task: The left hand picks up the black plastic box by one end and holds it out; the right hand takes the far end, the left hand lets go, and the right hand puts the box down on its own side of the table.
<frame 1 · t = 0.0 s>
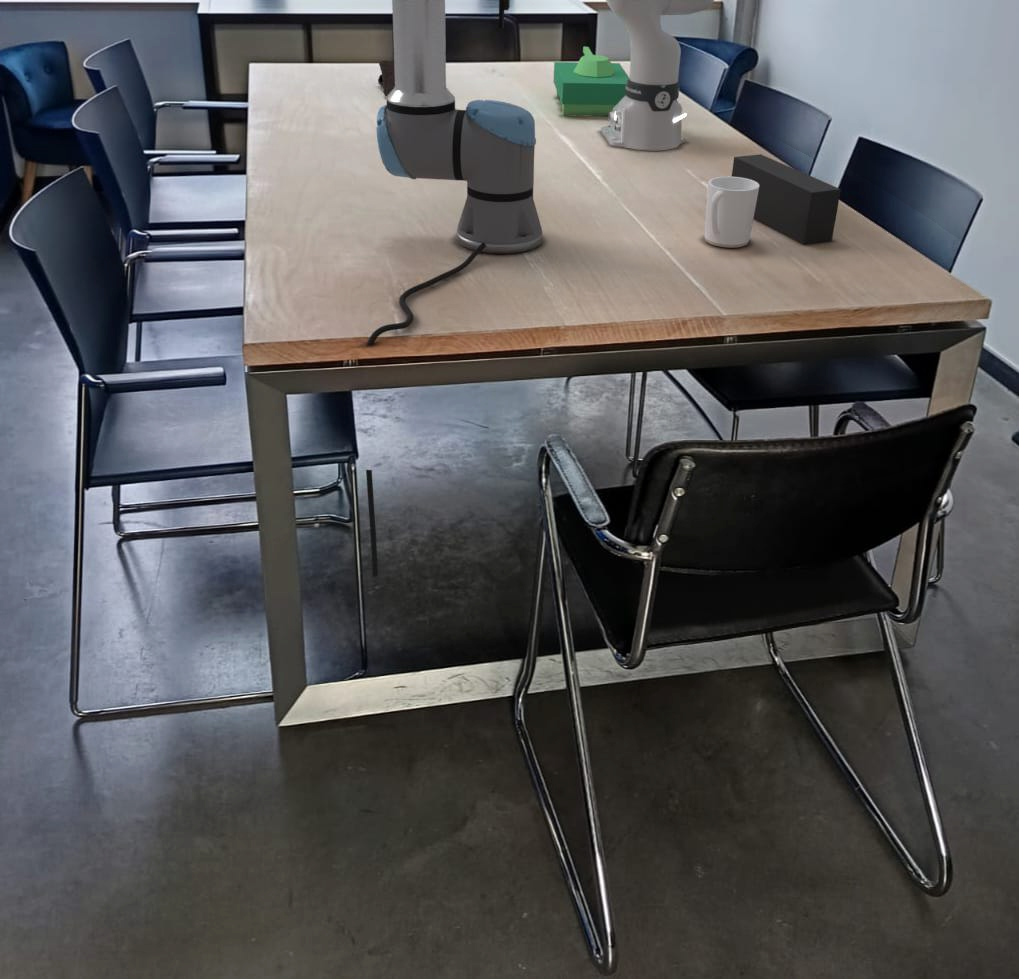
left hand: (468, 26, 224), 28 cm above the table, tool pointing down, fingers open, 13 cm apart
mug: (723, 242, 197), on the table
axe head: (403, 91, 300), on the table
toy tank: (588, 103, 292), on the table
box: (777, 222, 208), on the table
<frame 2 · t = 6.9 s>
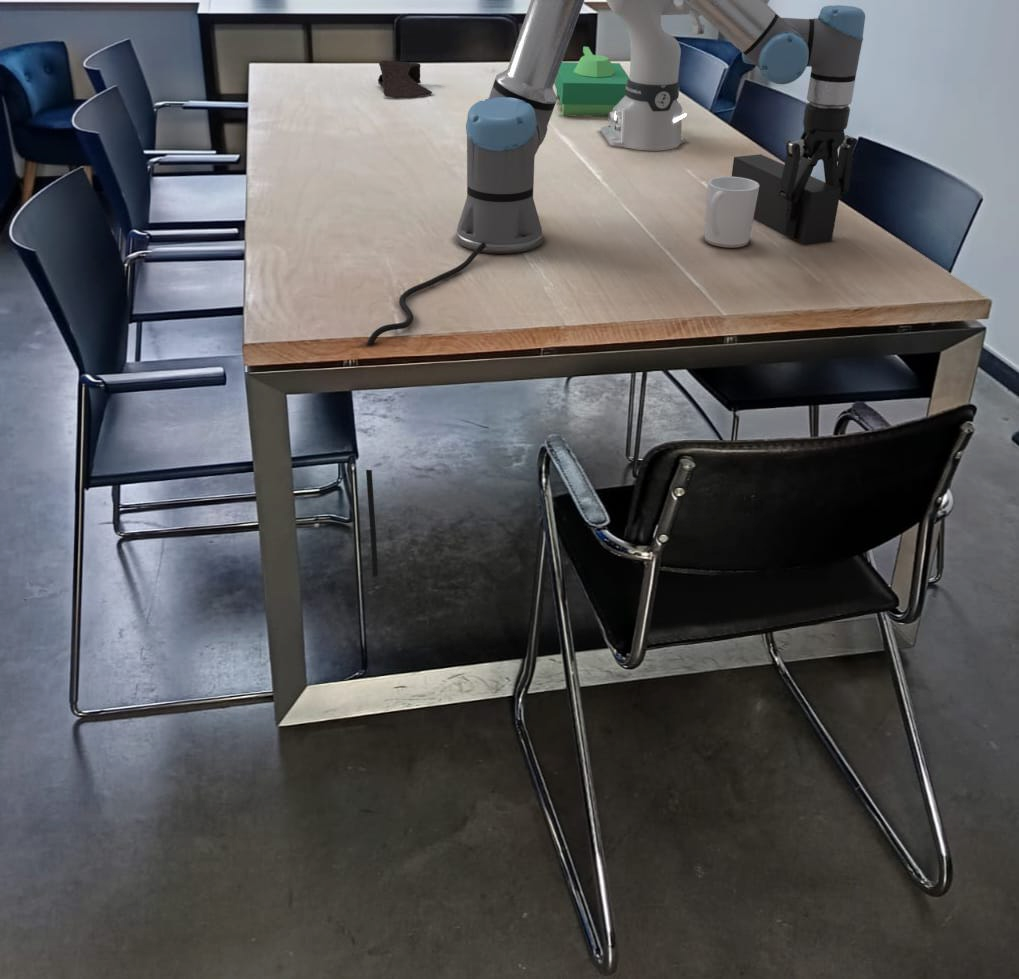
left hand: (806, 234, 201), 1 cm above the table, tool pointing down, fingers closed on box, 6 cm apart
right hand: (718, 32, 218), 29 cm above the table, tool pointing down, fingers open, 8 cm apart
box: (777, 222, 208), on the table, touching left hand
everything else where it was.
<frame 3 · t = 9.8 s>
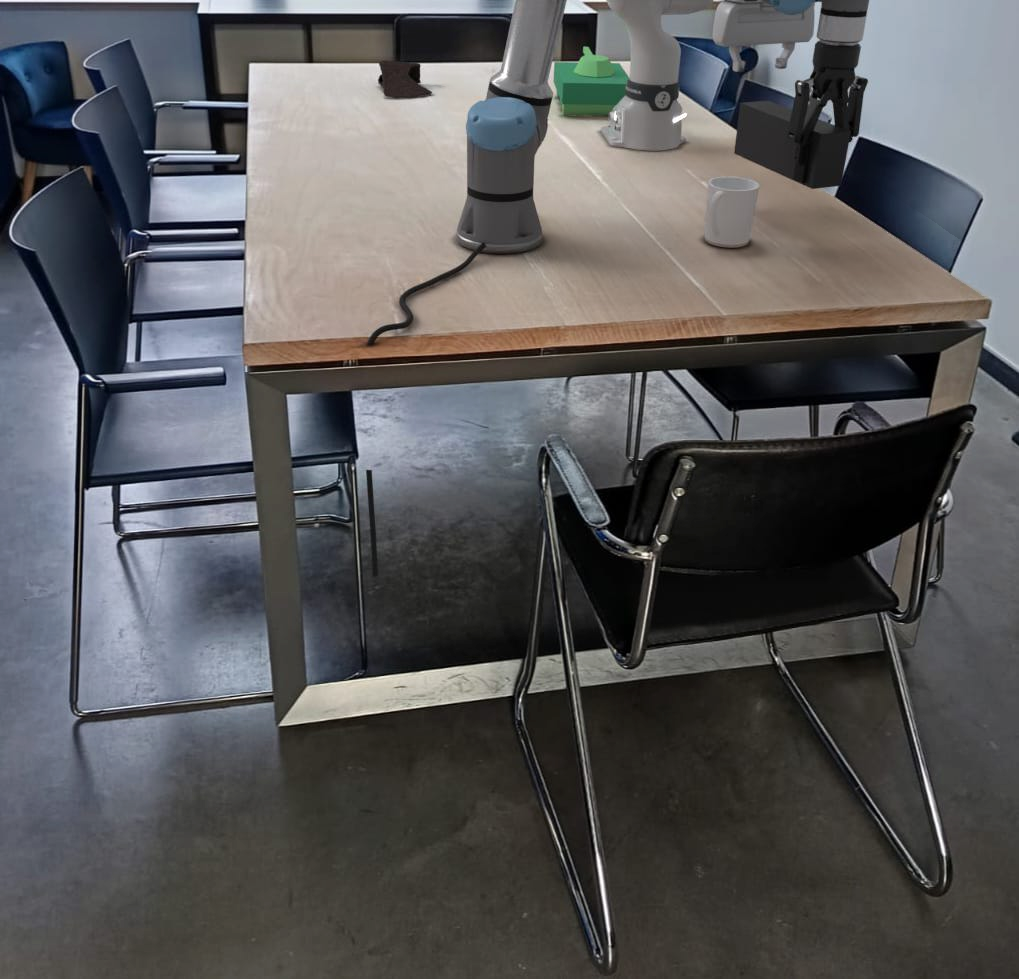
left hand: (815, 179, 195), 11 cm above the table, tool pointing down, fingers closed on box, 6 cm apart
right hand: (759, 69, 205), 25 cm above the table, tool pointing down, fingers open, 8 cm apart
box: (785, 169, 203), point 10 cm above the table, touching left hand
everything else where it was.
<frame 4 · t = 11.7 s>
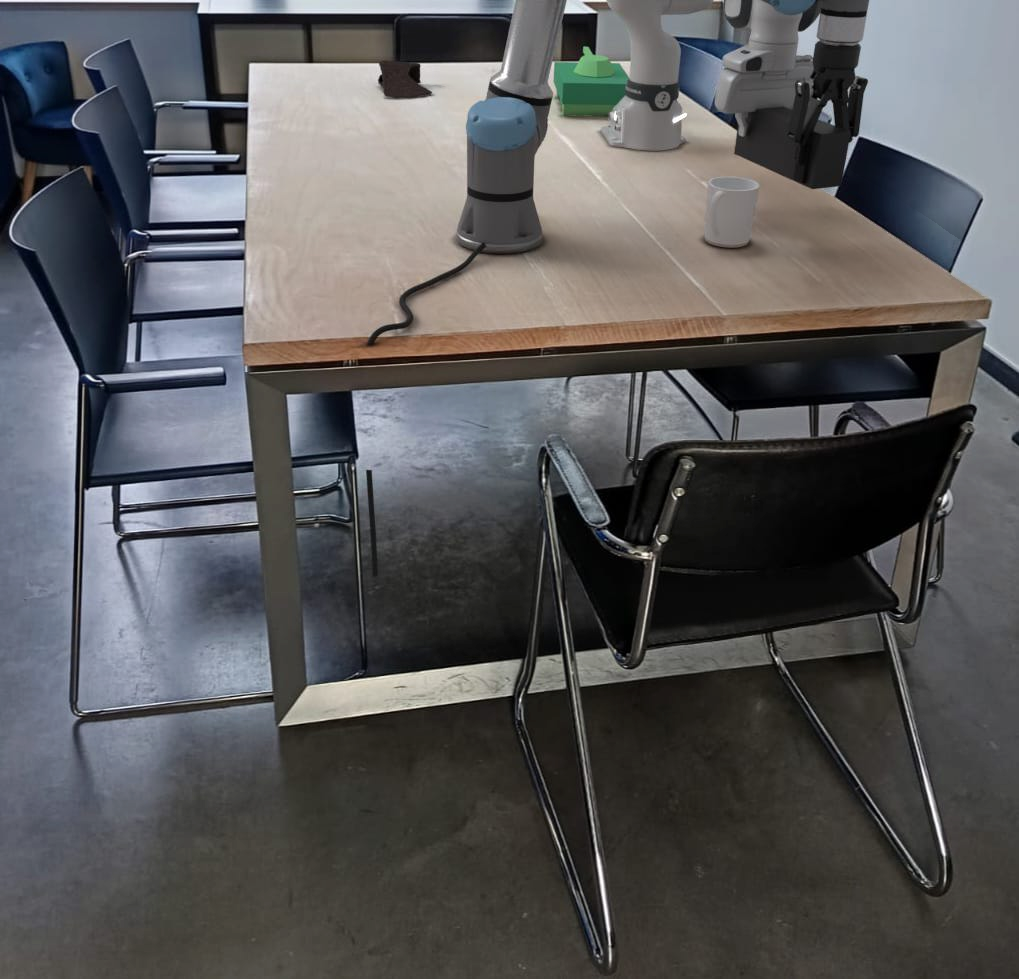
left hand: (815, 179, 195), 11 cm above the table, tool pointing down, fingers closed on box, 6 cm apart
right hand: (760, 134, 208), 14 cm above the table, tool pointing down, fingers closed on box, 6 cm apart
box: (785, 169, 203), point 10 cm above the table, touching left hand, right hand
everything else where it was.
when the left hand's fingers open (11 cm above the table, at t = 12.7 s): box stays where it is, held by the right hand.
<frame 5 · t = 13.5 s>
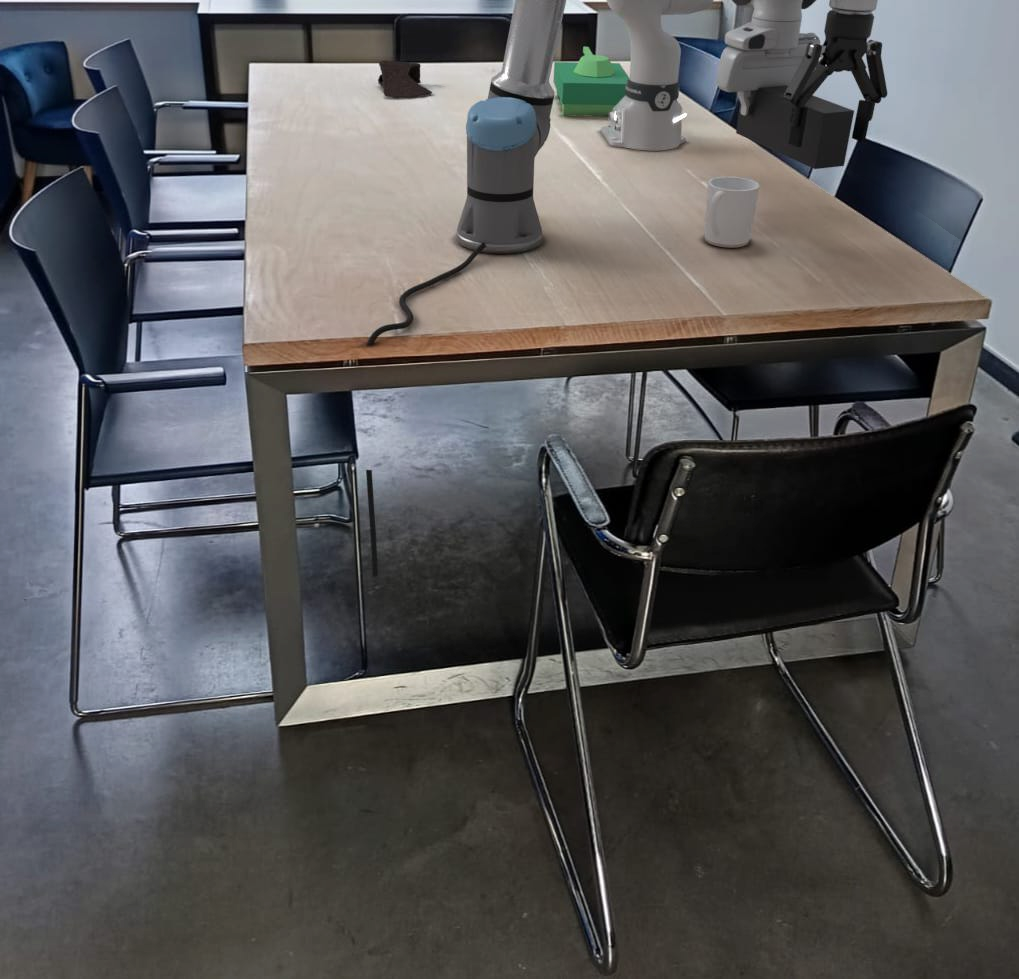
left hand: (826, 142, 190), 17 cm above the table, tool pointing down, fingers open, 13 cm apart
right hand: (762, 113, 206), 18 cm above the table, tool pointing down, fingers closed on box, 6 cm apart
box: (787, 148, 201), point 14 cm above the table, touching right hand
everything else where it was.
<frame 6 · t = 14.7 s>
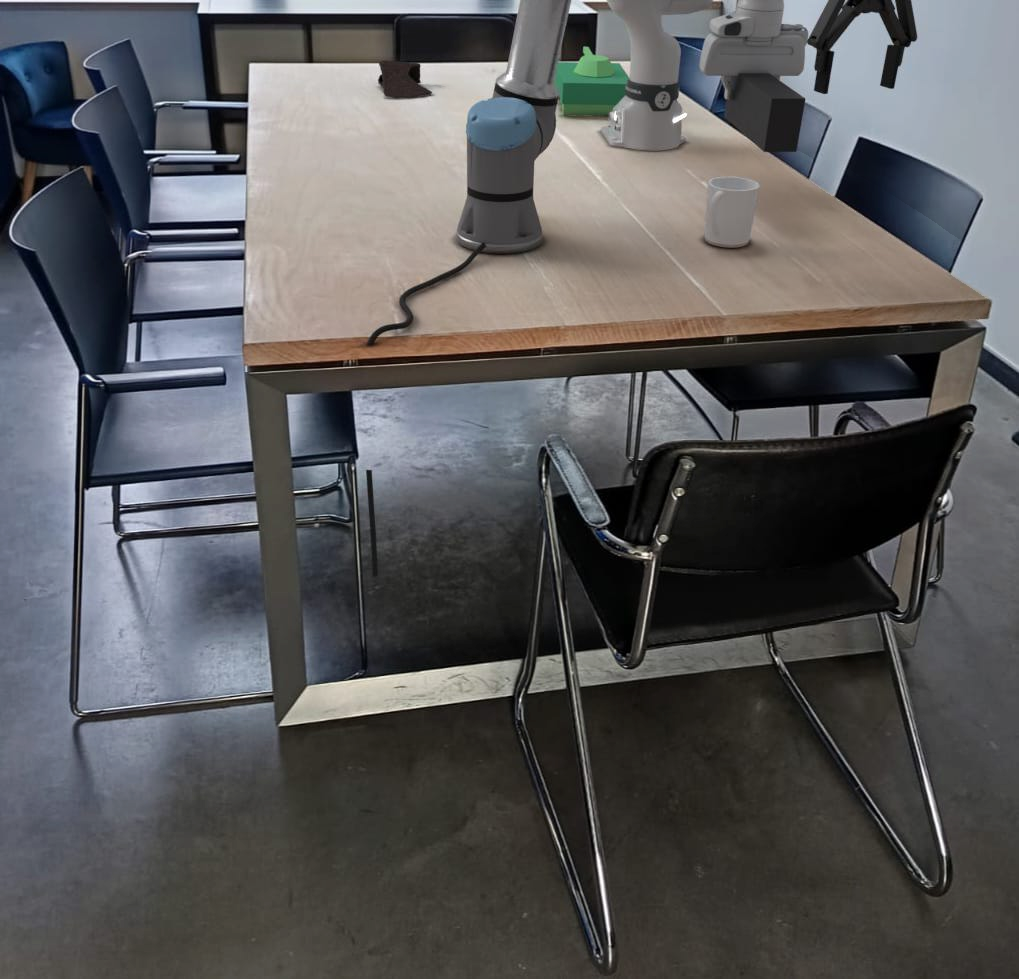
left hand: (854, 89, 182), 27 cm above the table, tool pointing down, fingers open, 13 cm apart
right hand: (747, 98, 216), 18 cm above the table, tool pointing down, fingers closed on box, 6 cm apart
box: (758, 133, 211), point 14 cm above the table, touching right hand
everything else where it was.
when the right hand's fingers open (6 cm above the table, at t = 17.7 s): box stays where it is, on the table.
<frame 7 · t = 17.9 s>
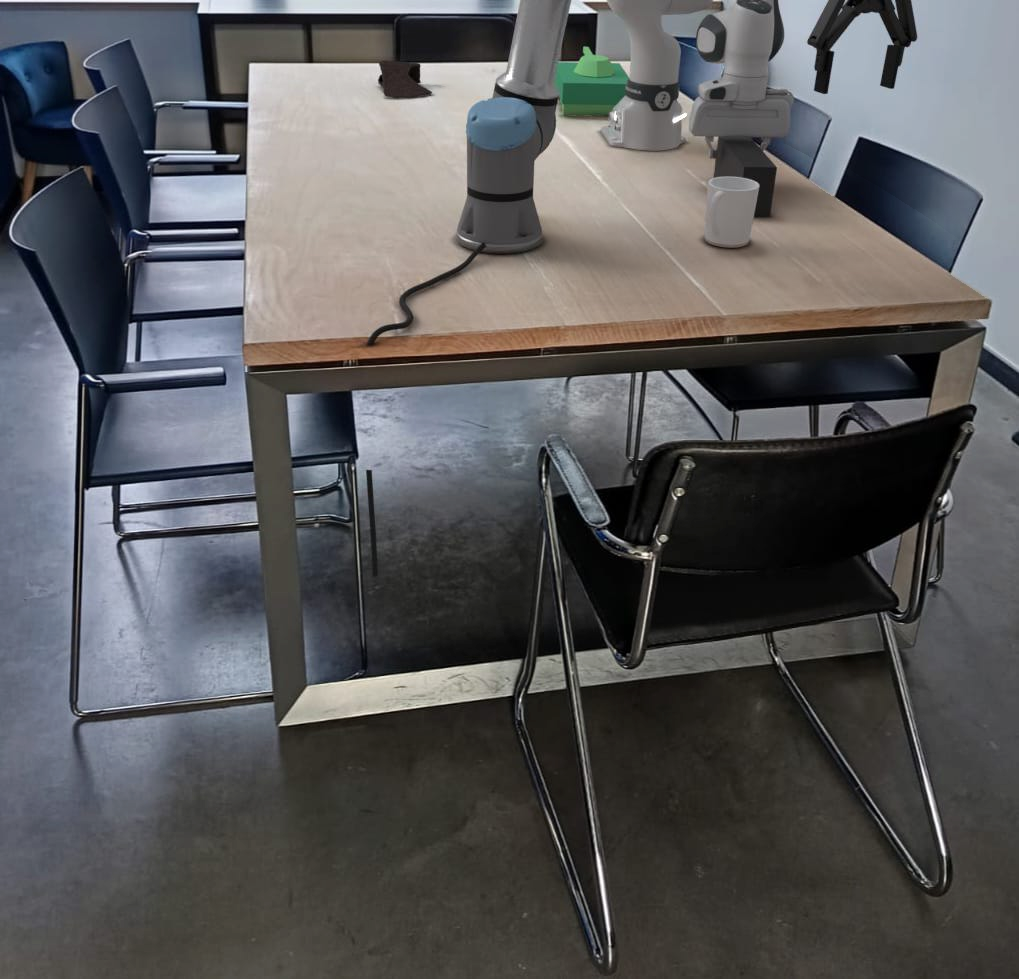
left hand: (854, 89, 182), 27 cm above the table, tool pointing down, fingers open, 13 cm apart
right hand: (735, 158, 226), 6 cm above the table, tool pointing down, fingers open, 8 cm apart
box: (740, 197, 221), on the table
everything else where it was.
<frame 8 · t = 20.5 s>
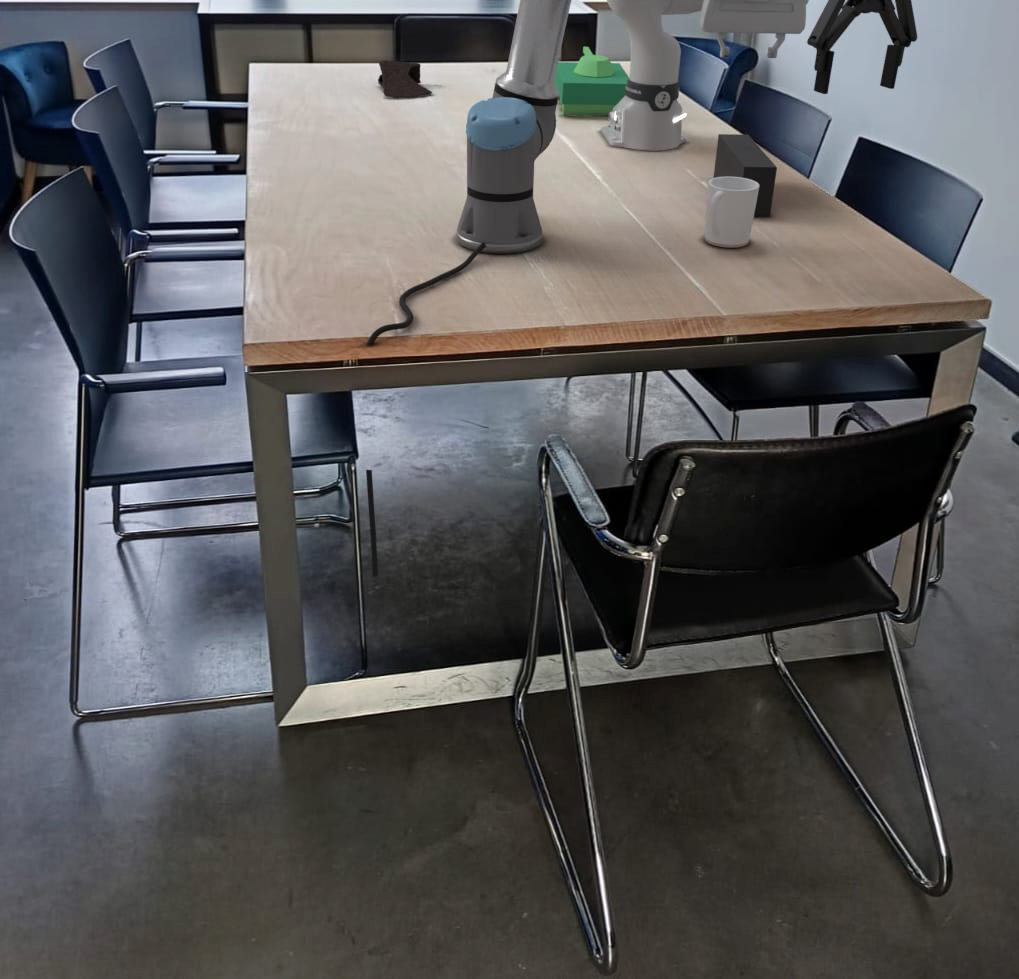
left hand: (854, 89, 182), 27 cm above the table, tool pointing down, fingers open, 13 cm apart
right hand: (747, 57, 215), 25 cm above the table, tool pointing down, fingers open, 8 cm apart
nothing on the table moved.
at the end: box inside the target area (8.6 cm from its centre), on the table; the left hand is holding nothing; the right hand is holding nothing; box at rest at the end (0.0 cm/s) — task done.
